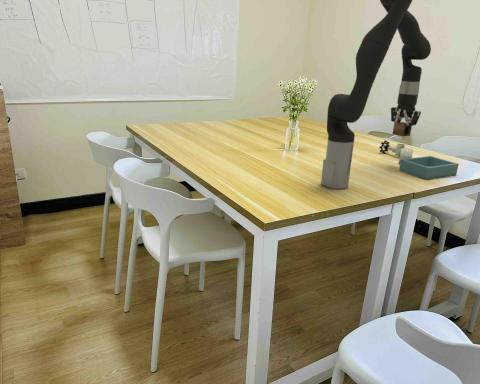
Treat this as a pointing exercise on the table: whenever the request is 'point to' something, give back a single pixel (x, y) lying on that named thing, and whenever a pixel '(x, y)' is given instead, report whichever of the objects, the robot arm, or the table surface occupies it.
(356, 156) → the table surface
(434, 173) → the tote
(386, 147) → the valve
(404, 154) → the ceramic capsule
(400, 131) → the walnut cube
